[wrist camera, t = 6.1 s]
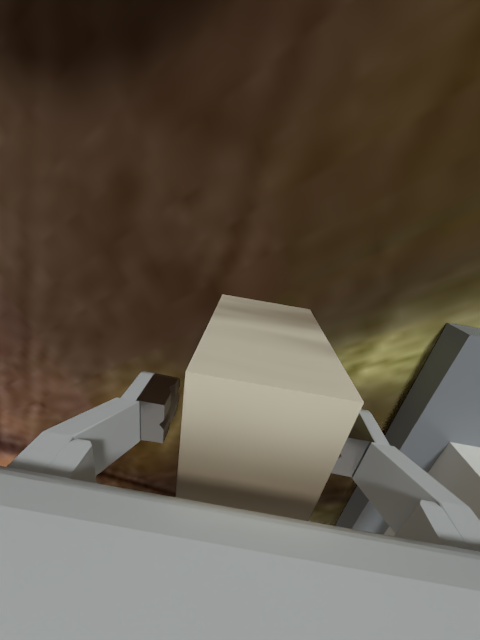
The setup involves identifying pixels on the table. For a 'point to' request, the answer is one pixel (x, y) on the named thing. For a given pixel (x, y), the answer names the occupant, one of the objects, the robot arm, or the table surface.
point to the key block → (263, 410)
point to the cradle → (436, 426)
